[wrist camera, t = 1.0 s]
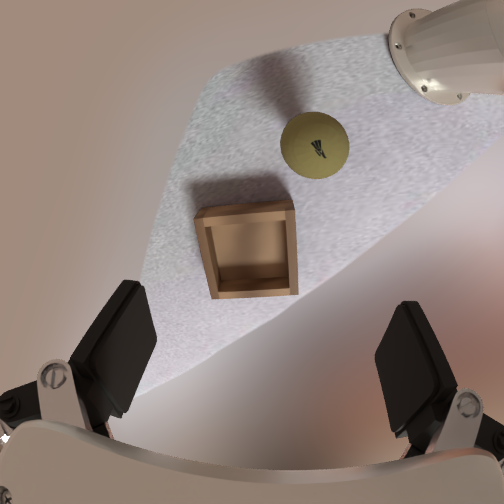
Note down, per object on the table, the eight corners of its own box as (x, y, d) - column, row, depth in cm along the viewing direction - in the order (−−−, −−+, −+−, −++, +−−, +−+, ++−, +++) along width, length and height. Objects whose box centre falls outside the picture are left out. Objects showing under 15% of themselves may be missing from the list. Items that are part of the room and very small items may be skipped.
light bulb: (267, 141, 27) (265, 154, 18) (300, 102, 25) (315, 95, 16) (307, 173, 29) (325, 201, 20) (340, 136, 26) (372, 147, 18)
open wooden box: (292, 199, 30) (294, 210, 27) (296, 278, 35) (298, 294, 32) (201, 208, 31) (193, 219, 28) (216, 282, 36) (211, 299, 33)
